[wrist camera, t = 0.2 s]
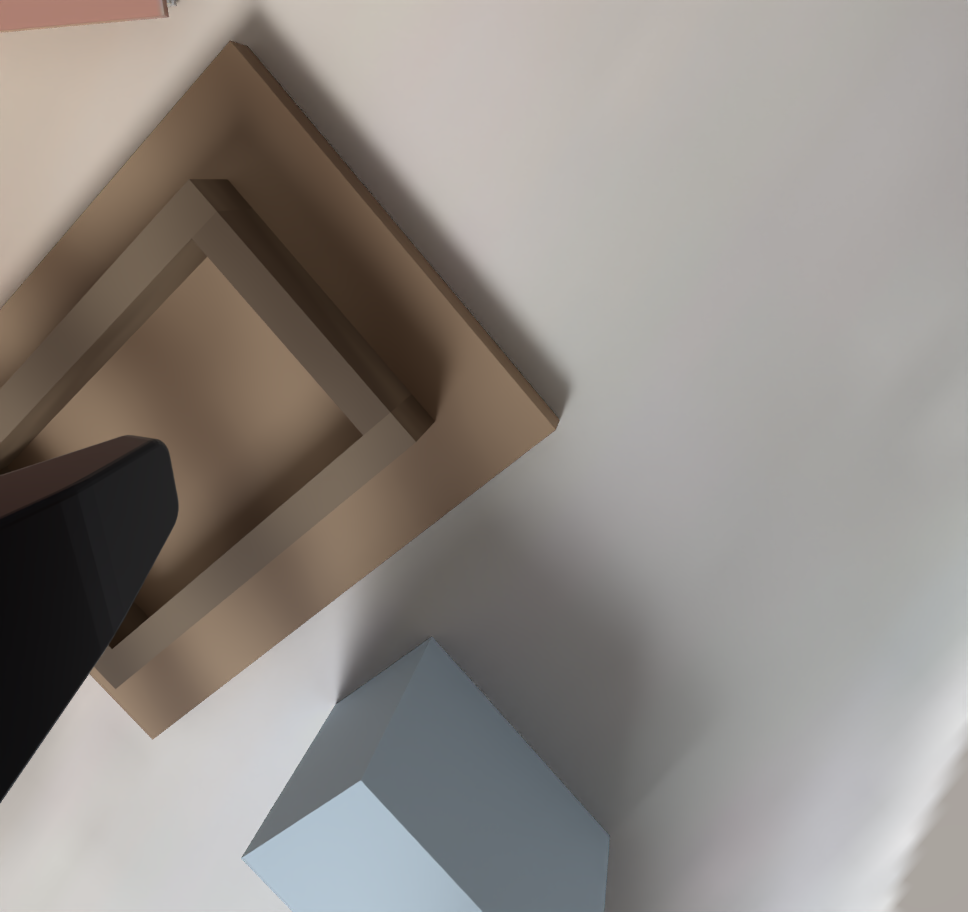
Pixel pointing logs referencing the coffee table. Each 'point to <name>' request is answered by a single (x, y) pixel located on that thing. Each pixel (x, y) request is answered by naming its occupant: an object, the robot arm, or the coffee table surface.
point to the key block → (427, 808)
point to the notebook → (76, 12)
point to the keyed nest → (254, 380)
